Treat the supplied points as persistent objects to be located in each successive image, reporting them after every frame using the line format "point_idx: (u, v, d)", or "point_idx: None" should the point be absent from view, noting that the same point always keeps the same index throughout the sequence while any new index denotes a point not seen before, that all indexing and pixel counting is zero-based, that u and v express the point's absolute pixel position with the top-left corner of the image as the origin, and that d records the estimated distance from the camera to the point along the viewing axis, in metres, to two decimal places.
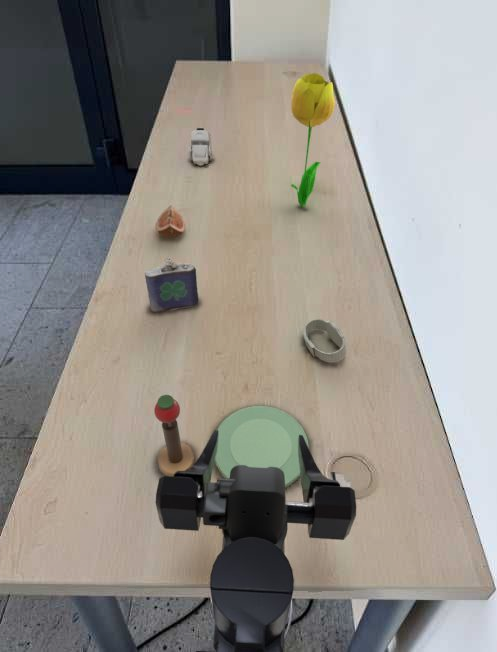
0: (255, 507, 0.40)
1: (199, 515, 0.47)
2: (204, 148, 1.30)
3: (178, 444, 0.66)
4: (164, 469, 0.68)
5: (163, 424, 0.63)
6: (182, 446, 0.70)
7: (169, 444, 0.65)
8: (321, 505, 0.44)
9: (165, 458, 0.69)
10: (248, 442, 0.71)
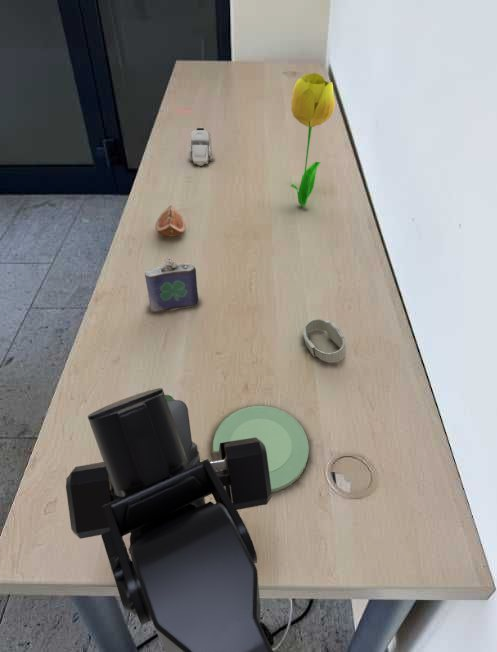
0: None
1: (114, 501, 0.45)
2: (204, 148, 1.30)
3: None
4: None
5: None
6: None
7: None
8: (231, 447, 0.46)
9: None
10: None
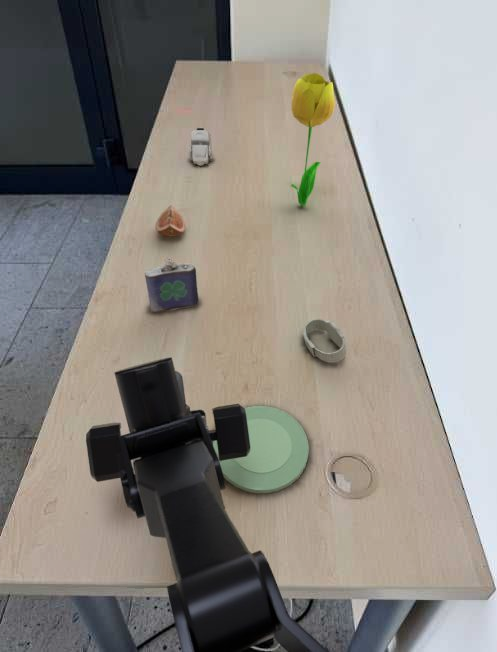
0: None
1: None
2: (204, 148, 1.30)
3: None
4: None
5: None
6: None
7: None
8: (217, 410, 0.58)
9: None
10: None
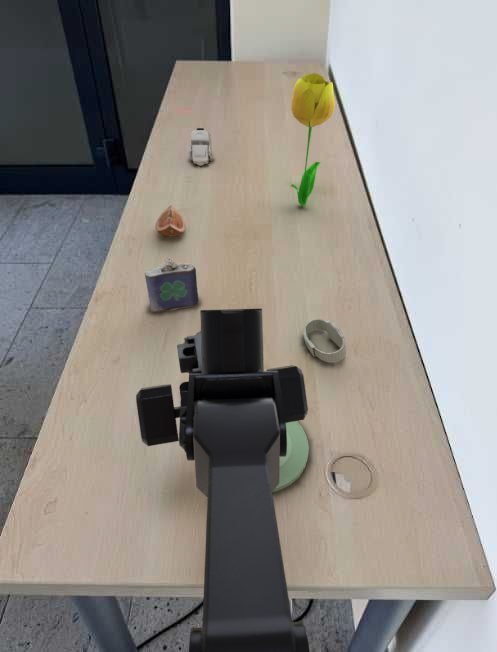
0: None
1: (176, 414, 0.53)
2: (204, 148, 1.30)
3: None
4: None
5: None
6: None
7: None
8: (273, 371, 0.55)
9: None
10: None
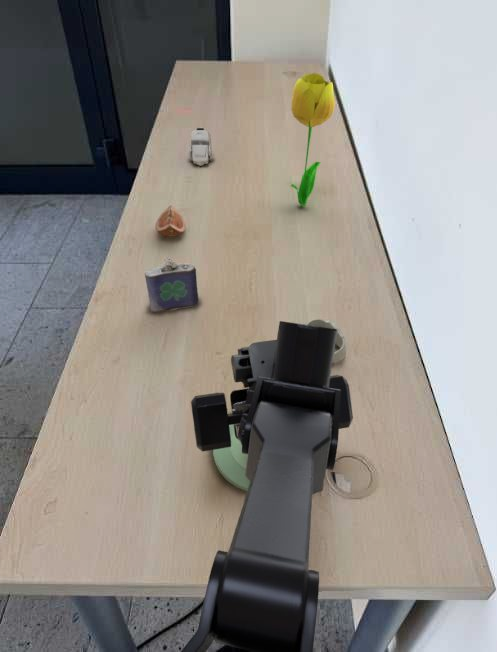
0: (270, 355, 0.54)
1: (229, 421, 0.55)
2: (204, 148, 1.30)
3: None
4: None
5: None
6: None
7: None
8: None
9: None
10: None
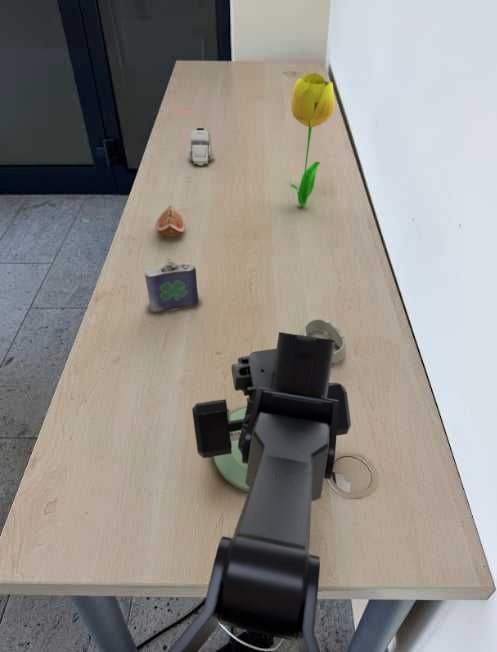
0: (269, 364, 0.55)
1: (229, 428, 0.57)
2: (204, 148, 1.30)
3: None
4: None
5: None
6: None
7: None
8: None
9: None
10: None
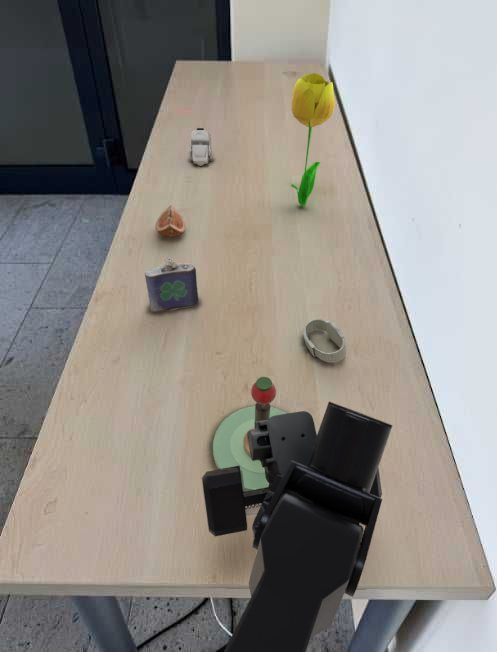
0: (291, 430, 0.48)
1: (245, 502, 0.50)
2: (204, 148, 1.30)
3: None
4: None
5: (256, 406, 0.64)
6: None
7: None
8: None
9: None
10: None
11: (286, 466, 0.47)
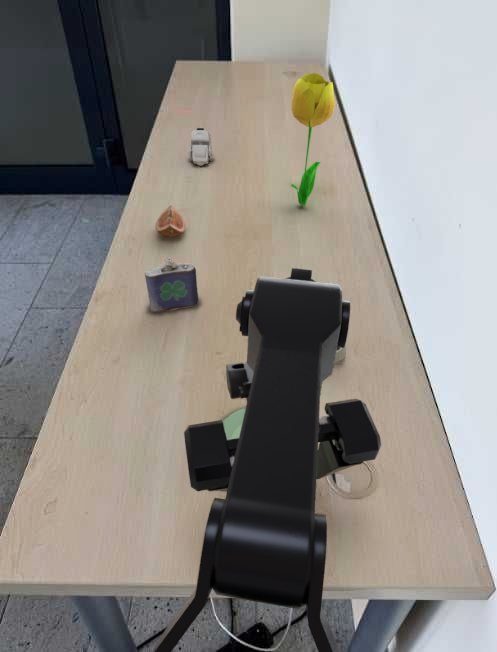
0: None
1: (228, 445, 0.46)
2: (204, 148, 1.30)
3: None
4: None
5: None
6: None
7: None
8: (331, 403, 0.50)
9: None
10: None
11: None
